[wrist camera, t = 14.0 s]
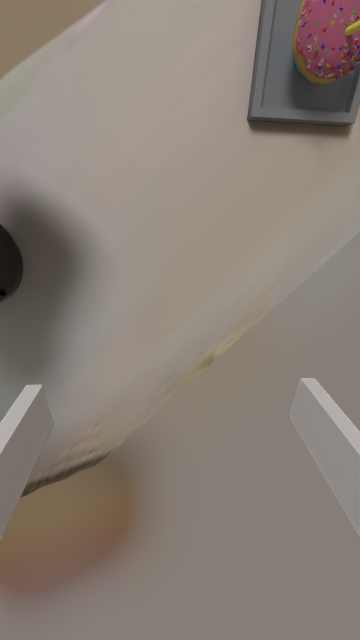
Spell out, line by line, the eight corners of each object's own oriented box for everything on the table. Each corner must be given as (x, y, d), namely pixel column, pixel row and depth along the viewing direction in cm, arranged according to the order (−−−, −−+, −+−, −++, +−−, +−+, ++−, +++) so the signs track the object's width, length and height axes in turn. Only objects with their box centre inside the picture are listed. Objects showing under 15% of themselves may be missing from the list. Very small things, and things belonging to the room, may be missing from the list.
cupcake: (346, 81, 32) (439, 25, 22) (281, 106, 33) (340, 64, 22) (344, -14, 29) (455, -139, 18) (271, 17, 29) (336, -85, 19)
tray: (247, 120, 34) (251, 116, 32) (266, -39, 28) (272, -54, 26) (345, 126, 35) (354, 122, 33) (385, -26, 29) (398, -39, 27)
